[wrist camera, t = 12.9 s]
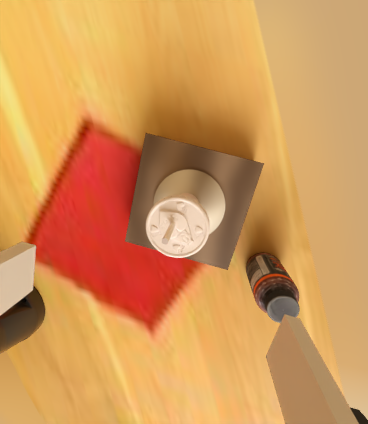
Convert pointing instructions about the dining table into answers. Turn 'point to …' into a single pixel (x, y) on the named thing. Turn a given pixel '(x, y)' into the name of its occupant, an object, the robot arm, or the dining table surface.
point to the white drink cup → (178, 225)
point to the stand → (195, 192)
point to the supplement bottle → (272, 287)
